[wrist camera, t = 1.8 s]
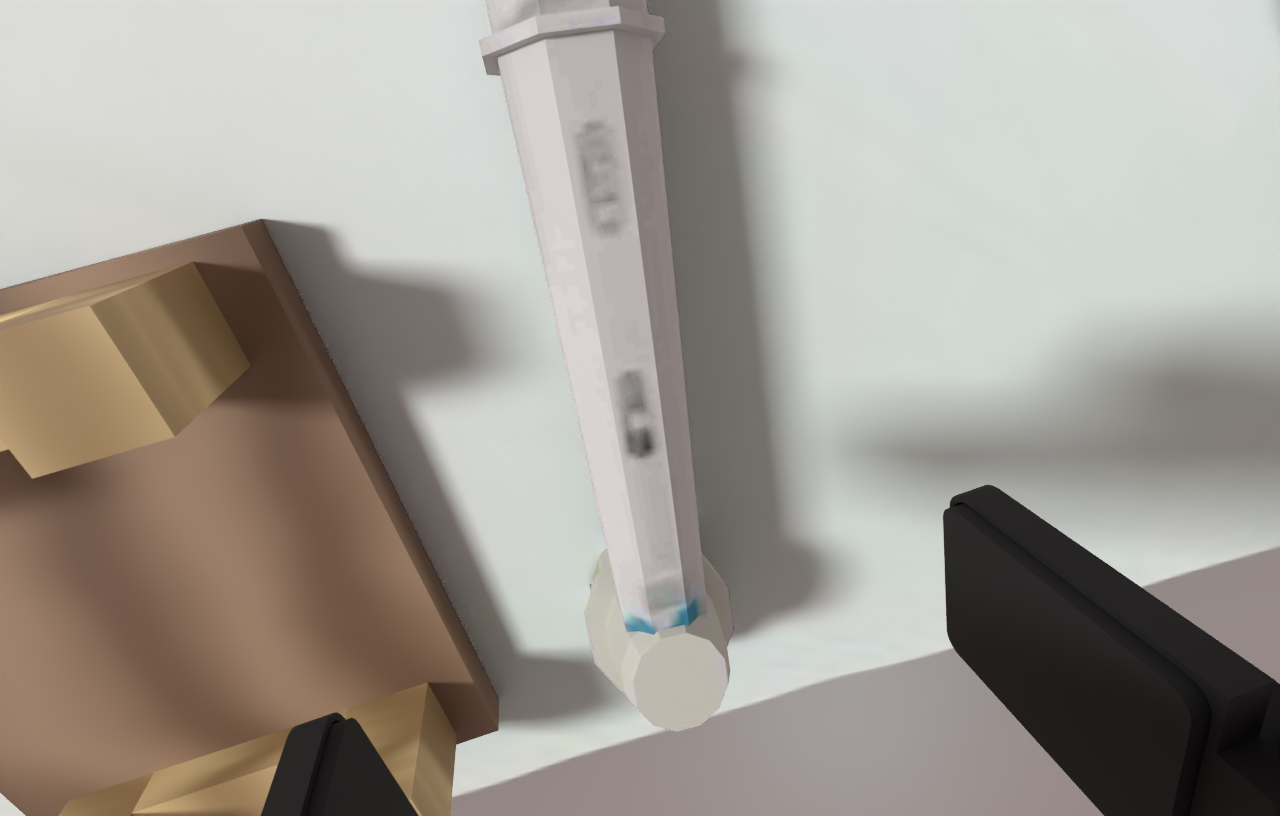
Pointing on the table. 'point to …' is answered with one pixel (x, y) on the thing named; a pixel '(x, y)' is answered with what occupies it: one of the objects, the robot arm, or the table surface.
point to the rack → (203, 548)
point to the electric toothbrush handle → (618, 336)
